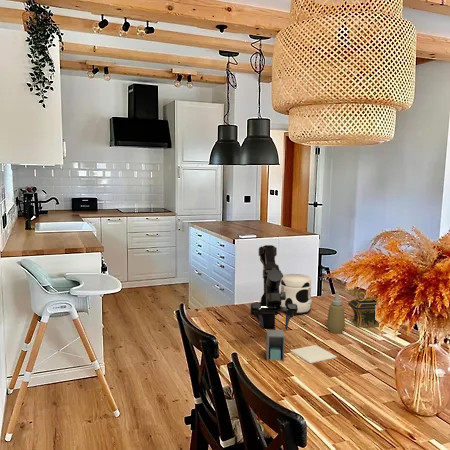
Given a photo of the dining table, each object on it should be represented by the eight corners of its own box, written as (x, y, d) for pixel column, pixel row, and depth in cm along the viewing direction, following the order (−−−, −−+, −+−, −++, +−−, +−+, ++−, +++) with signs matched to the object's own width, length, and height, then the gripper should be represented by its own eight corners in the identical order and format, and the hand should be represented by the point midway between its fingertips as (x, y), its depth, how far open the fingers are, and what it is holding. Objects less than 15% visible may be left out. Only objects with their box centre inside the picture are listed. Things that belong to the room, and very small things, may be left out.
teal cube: (279, 355, 171) (279, 346, 170) (280, 360, 167) (280, 350, 166) (269, 355, 171) (269, 346, 170) (270, 360, 167) (270, 350, 166)
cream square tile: (316, 345, 181) (316, 344, 181) (337, 357, 169) (337, 356, 169) (290, 351, 175) (290, 350, 175) (310, 363, 164) (310, 362, 164)
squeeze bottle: (346, 329, 200) (348, 291, 198) (343, 335, 192) (345, 296, 190) (328, 327, 203) (330, 289, 201) (324, 332, 196) (326, 294, 194)
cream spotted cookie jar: (273, 306, 233) (274, 274, 230) (303, 305, 237) (304, 272, 234) (285, 317, 216) (286, 282, 214) (317, 315, 220) (318, 280, 218)
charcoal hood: (282, 354, 172) (282, 330, 171) (284, 361, 165) (285, 336, 164) (265, 354, 172) (266, 329, 171) (267, 361, 165) (267, 335, 164)
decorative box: (378, 320, 214) (380, 281, 211) (388, 327, 204) (391, 286, 202) (340, 321, 211) (342, 282, 208) (348, 328, 201) (350, 287, 199)
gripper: (251, 283, 174) (252, 319, 164) (297, 284, 174) (301, 320, 164) (250, 297, 183) (250, 331, 173) (294, 298, 183) (297, 332, 173)
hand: (274, 328), depth 171 cm, fingers open, 9 cm apart
